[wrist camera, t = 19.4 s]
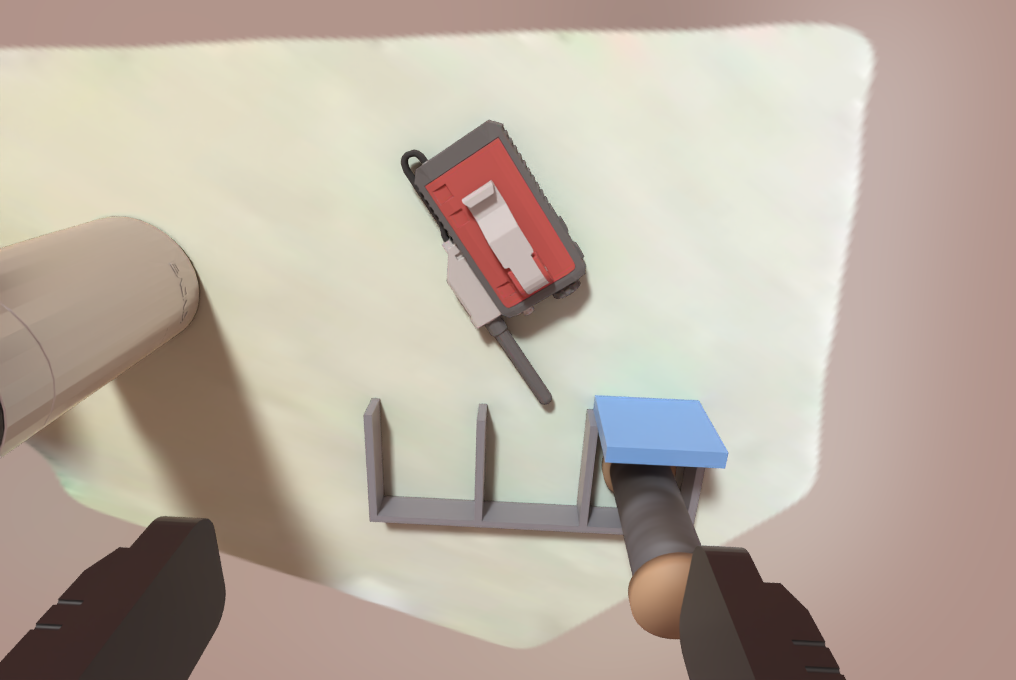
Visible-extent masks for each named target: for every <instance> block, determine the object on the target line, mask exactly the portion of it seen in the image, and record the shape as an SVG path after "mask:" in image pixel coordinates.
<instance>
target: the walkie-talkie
mask: <svg viewBox="0 0 1016 680" xmlns="http://www.w3.org/2000/svg"><path fill="white" fill-rule="evenodd" d="M507 133H508V132H507V130H504V128H503V124H502V123H499V122H495V121H491V120H488V121H486V122H485V123H483V124H482V125H480V126H479V127H477V128H476V129H474V130H473V131H471V132H470V133H468V134H467V135H465V136H464V137H463V138H461V139H460V140H458V141H457V142H455V143H454V144H452V145H451V146H449V147H448V148H446V149H445V150H443V151H442V152H440V153H439V154H437V155H436V156H434V157H433V158H432V159H430V160H427V158H426V157H425V155H424V154H423V153H421V152H420V151H418V150H411V151H408V152H406V153H405V154H404V155H403V156H402V159H401V166H402V169H403V171H404V173H405V175H406V176H407V178H408V179H409V181H410V182H411V184H412V185H413V187H414V188H415V190H416V191H417V193H418V194H419V196H420V197H421V199H422V200H423V202H424V203H425V205H426V206H427V208H428V209H429V210H430V212H431V213H432V215H433V217H434V218H435V220H436V221H437V223H438V224H439V226H440V230H441V236H442V238H443V241H444V242H443V244H442V246H443V248H444V249H445V250H446V252H447V253H448V268H447V283H448V284H449V286H450V287H451V289H452V290H453V292H454V293H455V295H456V296H457V298H458V299H459V300H460V302H461V303H462V305H463V306H464V308H465V309H466V311H467V312H468V314H469V315H470V317H471V322H472V323H473V324H474V326H475V327H476V328H479V327H481V326H483V325H485V327H486V328H487V330H488V331H489V333H490V334H491V335H492V336H494V337H495V338H496V339H497V341H498V342H499V344H500V345H501V347H502V348H503V349H504V351H505V352H506V354H507V355H508V357H509V358H510V360H511V361H512V363H513V364H514V365H515V367H516V368H517V370H518V371H519V373H520V374H521V376H522V377H523V378H524V380H525V381H526V383H527V384H528V386H529V387H530V389H531V390H532V392H533V393H534V394H535V396H536V397H537V399H538V400H539V402H540V403H541V404H549V403H550V402H551V400H552V395H551V393H550V392H549V390H548V389H547V387H546V386H545V384H544V383H543V381H542V380H541V378H540V377H539V375H538V374H537V373H536V371H535V370H534V368H533V367H532V365H531V364H530V362H529V361H528V359H527V358H526V356H525V355H524V353H523V352H522V350H521V349H520V347H519V346H518V344H517V343H516V341H515V340H514V338H513V337H512V335H511V334H510V332H509V331H508V329H507V325H506V323H505V322H504V320H503V319H502V317H501V316H500V315H503V316H506V317H509V318H510V317H513V316H515V315H519V314H521V313H522V312H523V313H524V315H525V316H526V315H529V314H531V313H532V312H533V311H534V307H533V305H535V304H537V303H538V302H540V301H542V300H543V299H545V298H547V297H549V296H550V295H553V296H554V298H556V299H560V298H563V297H566V296H568V295H570V294H571V293H573V292H574V291H575V290H576V289H577V288H578V287H579V286H580V281H579V278H580V277H581V276H583V275H584V274H585V267H586V266H585V263H584V260H583V257H584V255H583V253H582V251H581V250H580V248H579V246H578V244H577V243H576V242H574V241H572V239H571V237H570V236H569V234H568V228H567V226H566V224H565V223H564V221H563V219H562V218H561V216H559V217H558V216H557V214H556V212H555V211H554V209H553V207H552V206H551V204H550V203H548V200H547V197H546V196H544V194H543V190H542V189H540V188H539V184H538V182H535V178H534V175H531V173H530V169H529V167H528V168H527V167H526V162H525V160H522V158H521V154H520V153H518V152H517V147H516V145H513V143H512V138H509V137H508V135H507ZM410 157H417V158H418V159H419V160H420V162H421V163H422V165H421V166H420V167H418V168H417V169H416V172H415V176H414V174H413V173H412V171H411V170H410V168H409V164H408V159H409V158H410ZM447 231H448V234H447ZM448 235H449V236H451V237H449V236H448Z"/></svg>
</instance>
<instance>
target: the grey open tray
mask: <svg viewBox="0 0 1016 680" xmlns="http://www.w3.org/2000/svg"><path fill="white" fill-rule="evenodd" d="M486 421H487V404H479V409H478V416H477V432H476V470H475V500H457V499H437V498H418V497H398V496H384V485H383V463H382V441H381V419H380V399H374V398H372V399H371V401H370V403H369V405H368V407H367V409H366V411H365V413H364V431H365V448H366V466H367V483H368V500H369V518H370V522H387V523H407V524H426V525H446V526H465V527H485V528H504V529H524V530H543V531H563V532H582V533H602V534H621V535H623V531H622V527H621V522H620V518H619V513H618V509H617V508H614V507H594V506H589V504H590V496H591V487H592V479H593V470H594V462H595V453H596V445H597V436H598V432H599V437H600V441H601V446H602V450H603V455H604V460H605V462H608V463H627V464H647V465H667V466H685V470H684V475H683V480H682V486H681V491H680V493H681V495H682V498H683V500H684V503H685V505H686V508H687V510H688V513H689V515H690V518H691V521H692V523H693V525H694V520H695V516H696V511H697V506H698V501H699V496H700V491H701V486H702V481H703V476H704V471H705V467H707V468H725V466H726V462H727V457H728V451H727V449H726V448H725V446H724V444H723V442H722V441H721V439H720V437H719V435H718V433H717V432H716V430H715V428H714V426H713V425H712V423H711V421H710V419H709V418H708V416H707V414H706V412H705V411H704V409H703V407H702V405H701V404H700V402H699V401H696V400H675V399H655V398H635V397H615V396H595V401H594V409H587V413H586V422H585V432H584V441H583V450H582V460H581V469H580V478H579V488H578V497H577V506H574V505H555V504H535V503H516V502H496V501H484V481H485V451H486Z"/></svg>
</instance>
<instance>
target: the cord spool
mask: <svg viewBox="0 0 1016 680" xmlns="http://www.w3.org/2000/svg"><path fill="white" fill-rule="evenodd" d="M602 471H603V476H604V480H605V482H606V484H607V486H608V487H609V489H610V490H611V491H612V492H614V496H615V500H616V504H617V509H618V513H619V518H620V522H621V527H622V531H623V536H624V540H625V544H626V549H627V553H628V558H629V562H630V567H631V571H632V578H631V581H630V583H629V587H628V596H629V601H630V606H631V610H632V614H633V616H634V619H635V620H636V622H637V623H638V624H639V625H640V626H641V627H642V628H643V629H644V630H646V631H647V632H649V633H651V634H653V635H655V636H658V637H662V638H667V639H680V631H679V623H680V613H681V607H682V603H683V598H684V593H685V588H686V583H687V579H688V574H689V569H690V564H691V559H692V555H693V551H694V549H695V547H696V546H699V545H700V546H701V543H700V541H699V538H698V536H697V533H696V531H695V528H694V526H693V523H692V521H691V518H690V515H689V513H688V510H687V508H686V505H685V503H684V500H683V498H682V495H681V493H680V490H679V487H678V485H677V482H676V480H675V473H676V466H667V465H647V464H627V463H608V462H605V460H604V455H603V458H602Z"/></svg>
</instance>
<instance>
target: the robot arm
mask: <svg viewBox="0 0 1016 680" xmlns="http://www.w3.org/2000/svg"><path fill="white" fill-rule="evenodd" d="M198 302H199V284H198V281H197V277H196V273H195V270H194V268H193V266H192V264H191V262H190V260H189V258H188V257H187V256H186V254H185V253H184V252H183V250H182V249H181V248H180V246H179V245H178V244H177V243H176V242H175V241H174V240H173V239H171V238H170V237H169V236H168V235H167V234H165V233H164V232H162V231H161V230H159V229H158V228H156V227H155V226H153V225H150V224H148V223H146V222H144V221H141V220H138V219H134V218H129V217H118V216H111V217H106V218H101V219H97V220H93V221H90V222H87V223H83V224H80V225H76V226H73V227H70V228H66V229H63V230H59V231H55V232H52V233H49V234H45V235H42V236H39V237H35V238H32V239H29V240H25V241H22V242H19V243H15V244H12V245H9V246H5V247H2V248H0V458H2V457H3V456H4V455H6V454H7V453H9V452H10V451H12V450H13V449H14V448H16V447H17V446H19V445H20V444H22V443H23V442H25V441H26V440H27V439H29V438H30V437H32V436H33V435H34V434H36V433H37V432H38V431H40V430H41V429H43V428H44V427H46V426H47V425H48V424H50V423H51V422H53V421H54V420H56V419H57V418H58V417H60V416H61V415H63V414H64V413H66V412H67V411H69V410H70V409H71V408H73V407H74V406H76V405H77V404H79V403H80V402H81V401H83V400H84V399H86V398H87V397H89V396H90V395H91V394H93V393H94V392H96V391H97V390H99V389H100V388H102V387H103V386H104V385H106V384H107V383H109V382H110V381H112V380H113V379H114V378H116V377H117V376H119V375H120V374H122V373H123V372H124V371H126V370H127V369H129V368H130V367H132V366H133V365H134V364H136V363H137V362H139V361H140V360H142V359H143V358H145V357H146V356H147V355H149V354H150V353H152V352H153V351H155V350H156V349H157V348H159V347H160V346H162V345H163V344H164V343H166V342H167V341H169V340H170V339H171V338H173V337H174V336H176V335H177V334H179V333H180V332H181V331H183V330H184V329H185V328H186V327H187V326H188V325H189V324H190V322H191V321H192V320H193V318H194V315H195V313H196V311H197V308H198ZM225 595H226V593H225V583H224V578H223V573H222V567H221V561H220V556H219V550H218V545H217V540H216V534H215V529H214V526H213V523H212V522H211V521H210V520H209V519H206V518H186V517H167V516H162V517H159V518H157V519H155V520H154V521H153V522H152V523H151V524H150V525H149V526H148V527H147V528H146V530H145V531H144V532H143V533H142V534H141V535H140V536H139V538H138V539H137V540H136V541H135V542H134V543H133V545H132V546H131V547H130V548H121V547H119V548H118V549H116V550H115V551H113V552H112V553H110V554H109V555H107V556H106V557H104V558H103V559H101V560H100V561H98V562H97V563H95V564H94V565H92V566H91V567H89V568H88V569H86V570H85V571H84V572H83V573H82V574H81V575H80V576H79V577H78V578H77V579H76V581H75V582H74V583H73V584H72V585H71V586H70V587H69V588H68V589H67V590H66V591H65V593H63V595H62V596H61V597H60V598H59V599H58V600H59V601H58V603H57V605H52V607H51V608H50V609H49V610H48V611H47V612H46V613H45V614H44V615H43V616H42V617H41V618H40V620H39V621H38V622H37V623H36V627H35V629H34V630H30V631H29V632H28V633H27V634H26V635H25V636H24V637H23V638H22V639H21V640H20V641H19V642H18V644H17V645H16V646H15V647H14V648H13V649H12V650H11V651H10V652H9V653H8V654H7V655H6V656H5V658H4V659H3V660H2V661H1V662H0V680H188V678H189V676H190V674H191V673H192V671H193V669H194V667H195V666H196V664H197V662H198V661H199V659H200V657H201V655H202V654H203V652H204V650H205V648H206V647H207V645H208V643H209V641H210V640H211V638H212V636H213V634H214V633H215V631H216V629H217V627H218V625H219V622H220V620H221V617H222V613H223V610H224V604H225ZM679 631H680V643H681V649H682V654H683V657H684V662H685V665H686V669H687V672H688V676H689V679H690V680H846V679H845V677H844V675H841V674H840V672H839V666H838V664H837V662H836V660H835V659H834V657H833V655H832V653H831V651H830V649H829V648H826V647H825V641H824V639H823V637H822V635H821V633H820V631H819V629H818V628H817V626H816V624H815V622H814V620H813V618H812V617H811V615H810V613H809V611H808V610H807V609H806V608H805V607H804V606H803V605H802V604H801V603H800V602H799V601H798V600H797V599H796V598H795V597H794V596H793V595H792V594H791V593H790V592H789V591H788V590H787V589H786V588H785V587H784V586H783V585H782V584H781V583H764V582H763V581H762V578H761V576H760V575H759V573H758V570H757V568H756V566H755V564H754V562H753V560H752V558H751V556H750V554H749V553H748V551H747V550H746V549H744V548H739V547H720V546H700V545H699V546H696V547H695V549H694V551H693V555H692V559H691V564H690V569H689V574H688V579H687V583H686V588H685V593H684V598H683V603H682V607H681V613H680V623H679Z"/></svg>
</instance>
